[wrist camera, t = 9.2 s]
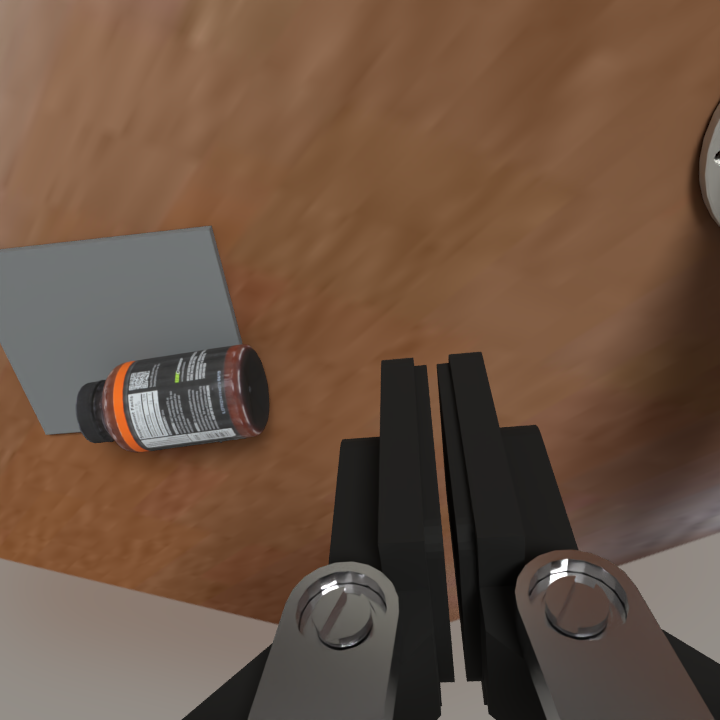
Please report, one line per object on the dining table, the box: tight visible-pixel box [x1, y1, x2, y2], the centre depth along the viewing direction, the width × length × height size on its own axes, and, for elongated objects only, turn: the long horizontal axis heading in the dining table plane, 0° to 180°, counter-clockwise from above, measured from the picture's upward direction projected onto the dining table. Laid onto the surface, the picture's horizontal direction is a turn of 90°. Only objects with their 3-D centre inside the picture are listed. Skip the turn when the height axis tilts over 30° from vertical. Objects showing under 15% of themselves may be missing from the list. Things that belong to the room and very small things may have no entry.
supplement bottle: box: [75, 344, 269, 452], centre depth 40 cm, size 6×6×11 cm
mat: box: [0, 226, 242, 435], centre depth 42 cm, size 16×14×1 cm
